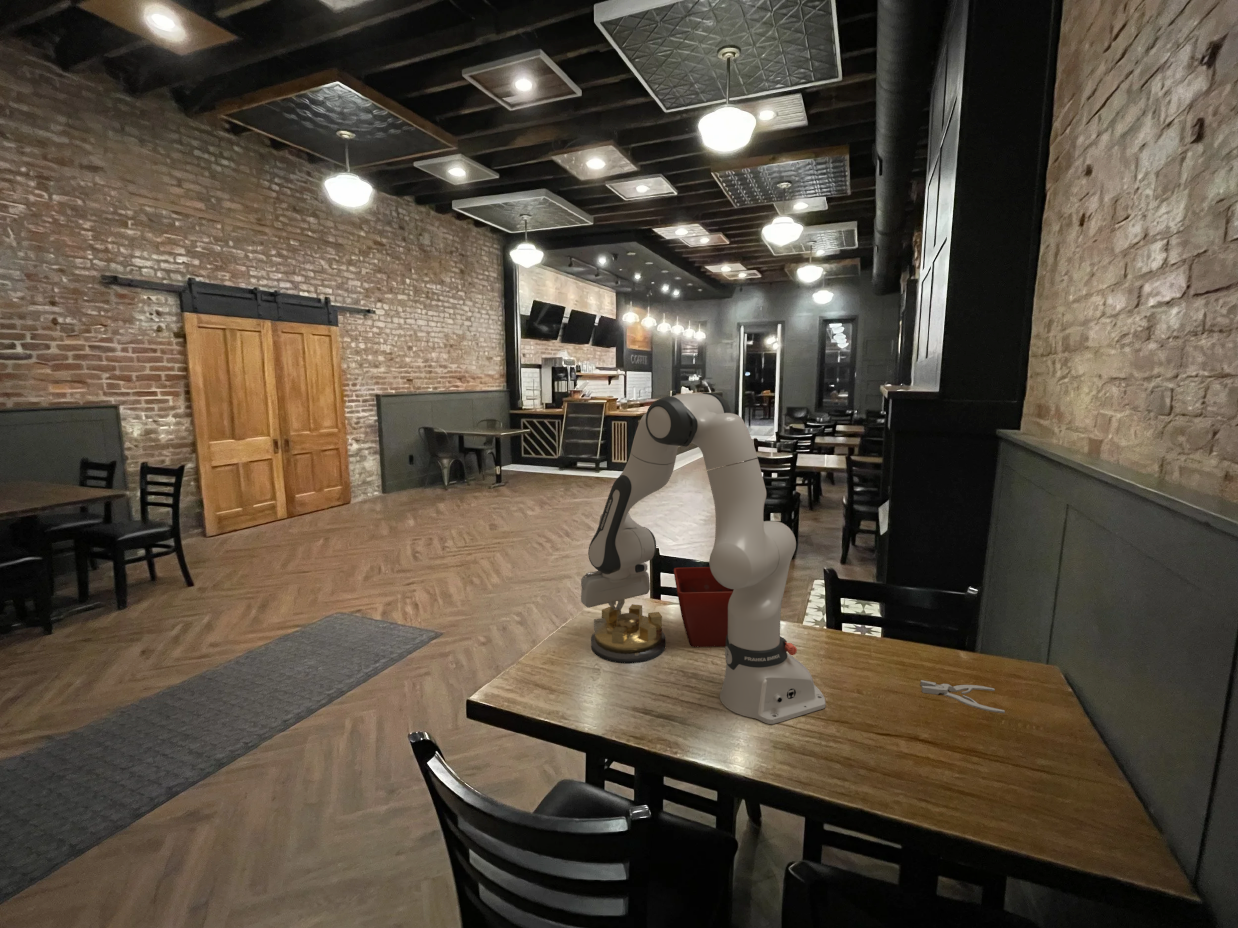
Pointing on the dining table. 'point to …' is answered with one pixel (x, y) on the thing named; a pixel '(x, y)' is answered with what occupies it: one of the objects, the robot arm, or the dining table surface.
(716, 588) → the plant pot
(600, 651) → the nut base
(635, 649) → the ring nut
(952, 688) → the pliers
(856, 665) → the dining table surface
